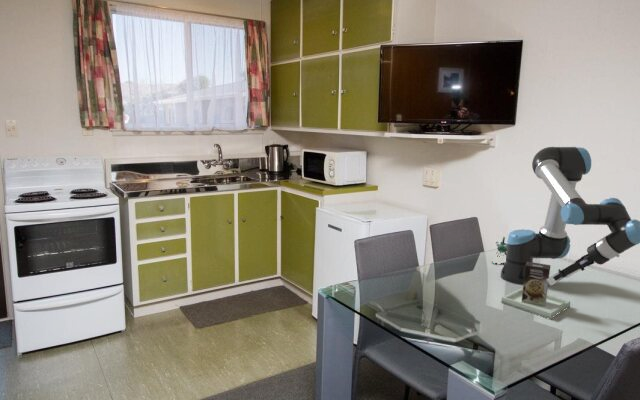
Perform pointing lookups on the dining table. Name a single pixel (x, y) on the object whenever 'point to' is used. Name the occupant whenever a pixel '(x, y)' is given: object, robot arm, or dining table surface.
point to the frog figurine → (502, 247)
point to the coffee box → (535, 283)
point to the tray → (550, 309)
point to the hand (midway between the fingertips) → (556, 278)
